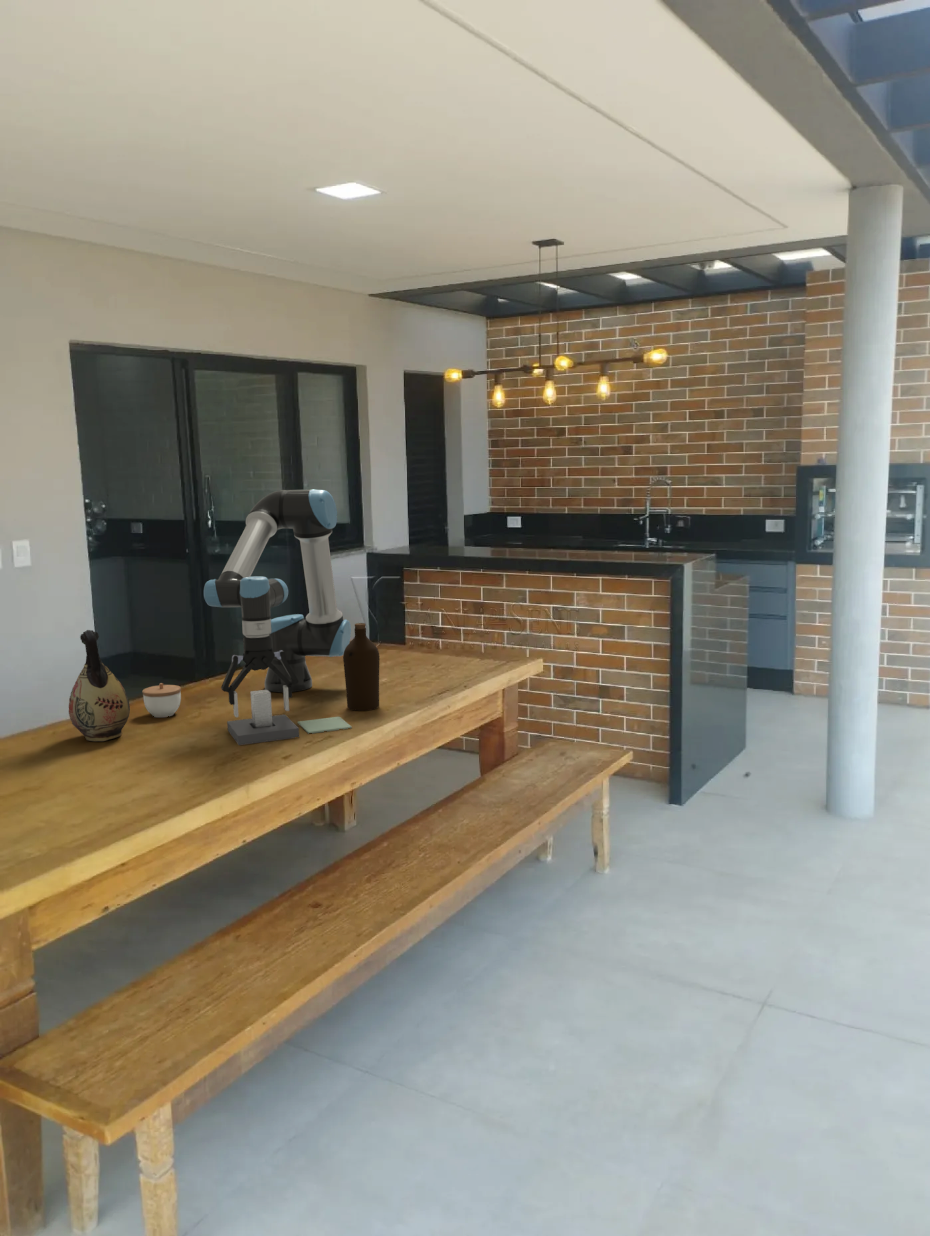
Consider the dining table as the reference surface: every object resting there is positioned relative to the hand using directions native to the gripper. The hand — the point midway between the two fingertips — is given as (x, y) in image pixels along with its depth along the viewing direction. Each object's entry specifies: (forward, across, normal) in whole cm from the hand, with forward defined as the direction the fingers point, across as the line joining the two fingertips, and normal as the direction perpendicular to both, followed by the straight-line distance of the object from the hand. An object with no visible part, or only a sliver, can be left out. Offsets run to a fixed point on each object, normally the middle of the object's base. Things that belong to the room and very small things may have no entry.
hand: (261, 713), depth 269 cm
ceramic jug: (+6, -40, +16) cm, 43 cm away
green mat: (+6, +17, 0) cm, 18 cm away
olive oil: (+6, +33, +15) cm, 37 cm away
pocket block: (+6, 0, 0) cm, 6 cm away
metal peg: (+6, 0, 0) cm, 6 cm away
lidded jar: (+6, -22, +34) cm, 41 cm away
